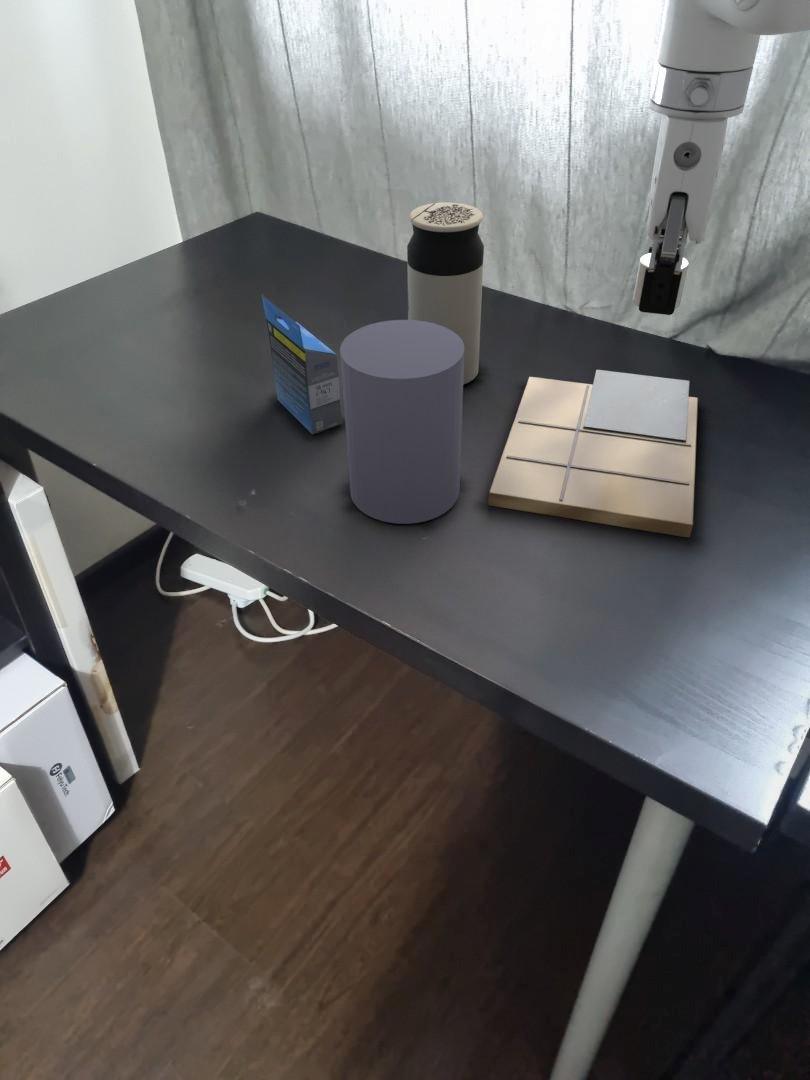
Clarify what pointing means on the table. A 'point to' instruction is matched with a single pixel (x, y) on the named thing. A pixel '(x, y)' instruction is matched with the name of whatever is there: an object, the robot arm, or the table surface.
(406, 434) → the container
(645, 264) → the white squat cylinder
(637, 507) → the board
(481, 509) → the table surface
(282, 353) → the blue product box
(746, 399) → the table surface
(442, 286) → the travel mug
